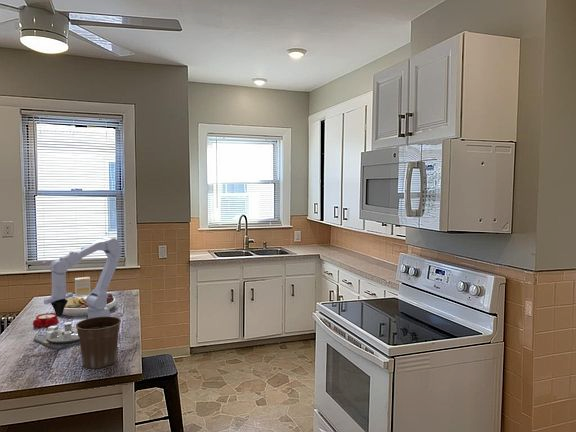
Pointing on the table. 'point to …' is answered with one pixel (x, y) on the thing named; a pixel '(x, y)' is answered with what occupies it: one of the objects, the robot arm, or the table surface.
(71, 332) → the metal disc with lugs
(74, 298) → the bowl
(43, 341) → the mount plate
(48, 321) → the alarm clock
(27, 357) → the table surface
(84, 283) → the supplement box
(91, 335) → the plant pot
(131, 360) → the table surface
